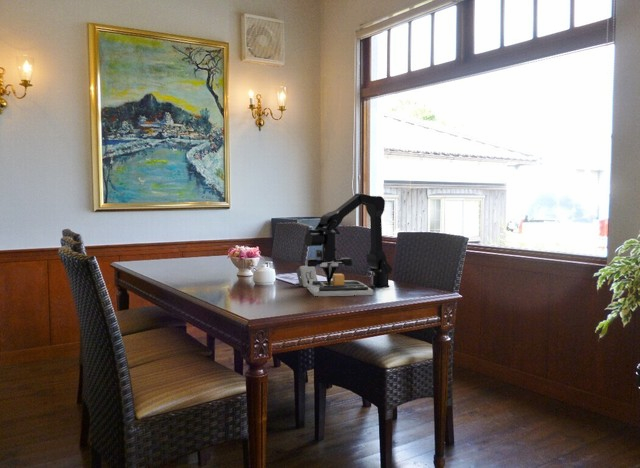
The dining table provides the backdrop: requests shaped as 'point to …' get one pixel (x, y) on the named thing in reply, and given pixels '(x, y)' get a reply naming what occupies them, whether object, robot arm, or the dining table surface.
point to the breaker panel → (339, 288)
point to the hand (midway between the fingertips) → (328, 282)
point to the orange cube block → (338, 279)
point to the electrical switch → (306, 275)
